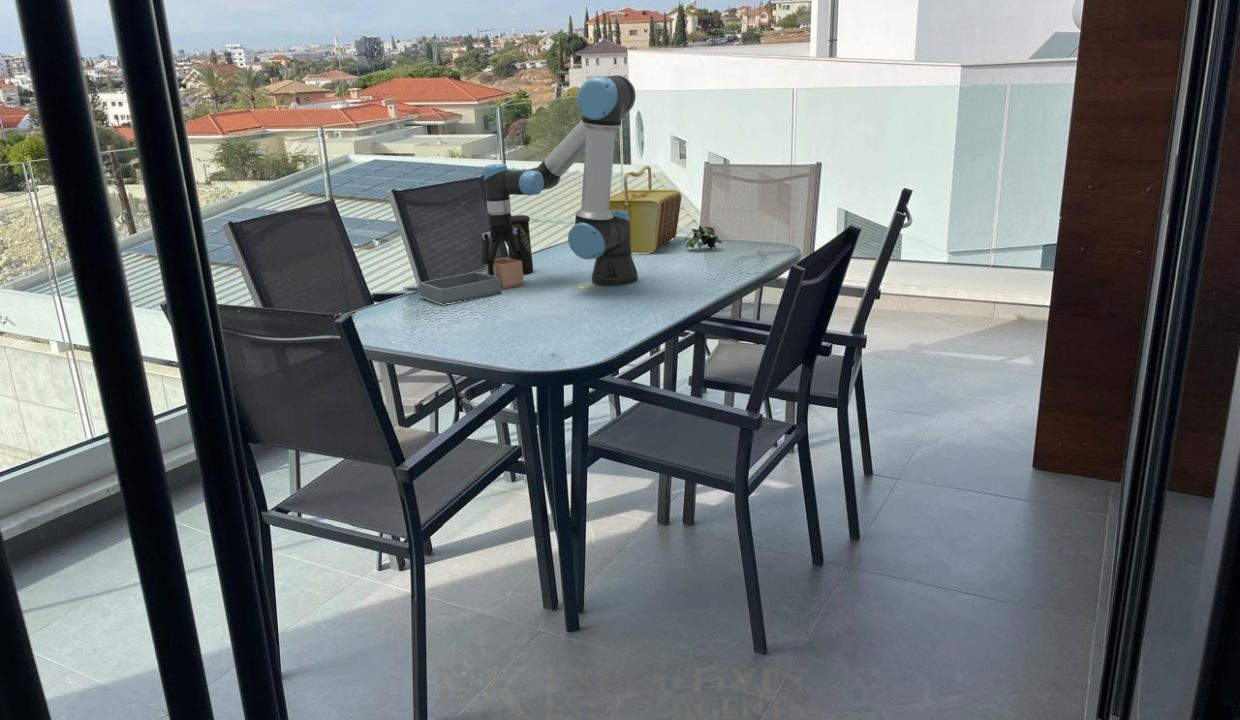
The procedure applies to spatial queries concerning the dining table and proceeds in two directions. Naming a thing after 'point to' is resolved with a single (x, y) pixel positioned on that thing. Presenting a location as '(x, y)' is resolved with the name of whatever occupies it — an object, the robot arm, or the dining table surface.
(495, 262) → the small crate
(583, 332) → the dining table surface
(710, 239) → the passion flower
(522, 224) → the container
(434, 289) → the grey tray
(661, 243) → the picnic basket
